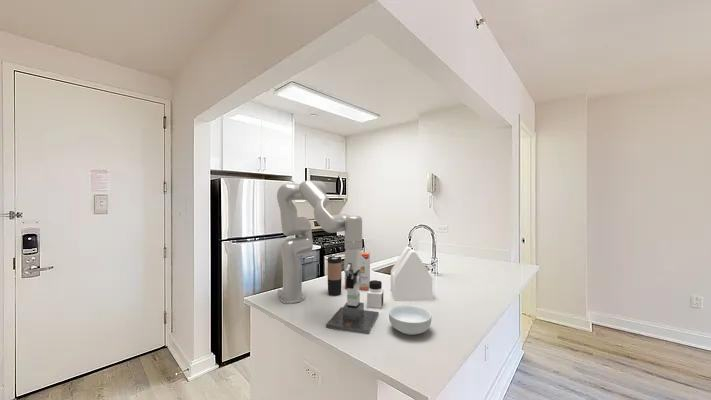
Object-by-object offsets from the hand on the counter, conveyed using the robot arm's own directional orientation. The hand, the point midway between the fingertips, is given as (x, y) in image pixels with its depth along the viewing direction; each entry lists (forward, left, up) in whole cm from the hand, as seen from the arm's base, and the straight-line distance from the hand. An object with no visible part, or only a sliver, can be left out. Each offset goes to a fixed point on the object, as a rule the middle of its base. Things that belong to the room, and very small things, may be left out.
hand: (353, 284), depth 120 cm
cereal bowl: (+24, -1, -16) cm, 29 cm away
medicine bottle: (+5, +20, -16) cm, 26 cm away
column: (0, 0, -8) cm, 8 cm away
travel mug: (-20, +29, -16) cm, 39 cm away
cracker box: (-10, +41, -16) cm, 45 cm away
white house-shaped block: (+20, +39, -16) cm, 47 cm away
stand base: (0, 0, -16) cm, 16 cm away
